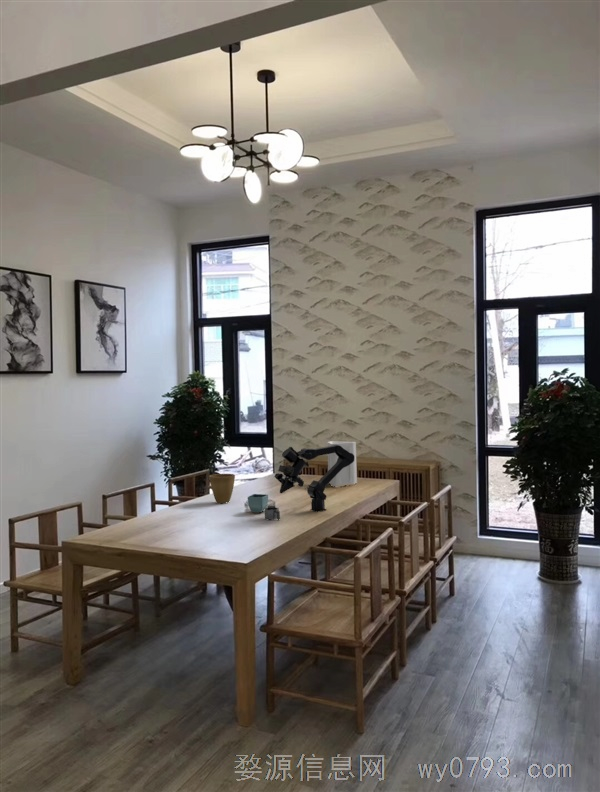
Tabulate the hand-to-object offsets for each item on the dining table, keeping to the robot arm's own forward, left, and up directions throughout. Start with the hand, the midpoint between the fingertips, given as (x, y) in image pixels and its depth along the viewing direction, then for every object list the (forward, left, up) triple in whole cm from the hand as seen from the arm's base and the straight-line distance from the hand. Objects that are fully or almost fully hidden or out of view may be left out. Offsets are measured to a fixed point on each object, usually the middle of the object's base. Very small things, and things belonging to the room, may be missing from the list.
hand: (280, 492), depth 326 cm
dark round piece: (+6, 0, -12) cm, 13 cm away
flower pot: (+2, -18, -13) cm, 22 cm away
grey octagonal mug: (+6, +1, -12) cm, 14 cm away
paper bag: (-83, -49, -13) cm, 97 cm away
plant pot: (+1, -56, -13) cm, 58 cm away
